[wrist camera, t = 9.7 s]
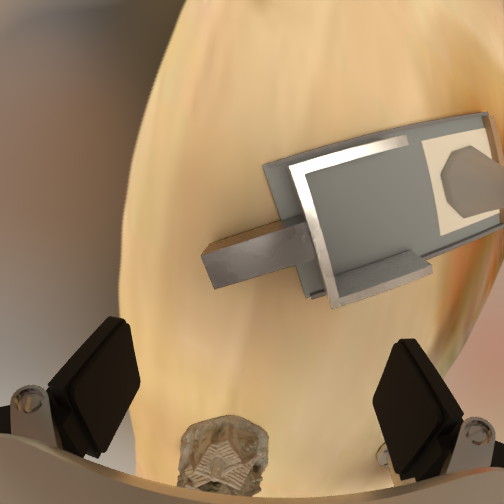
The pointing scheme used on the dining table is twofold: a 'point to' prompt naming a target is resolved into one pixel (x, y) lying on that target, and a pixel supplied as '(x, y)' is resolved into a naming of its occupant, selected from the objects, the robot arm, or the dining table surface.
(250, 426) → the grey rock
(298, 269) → the base board
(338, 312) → the dining table surface
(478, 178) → the flask
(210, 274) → the housing
